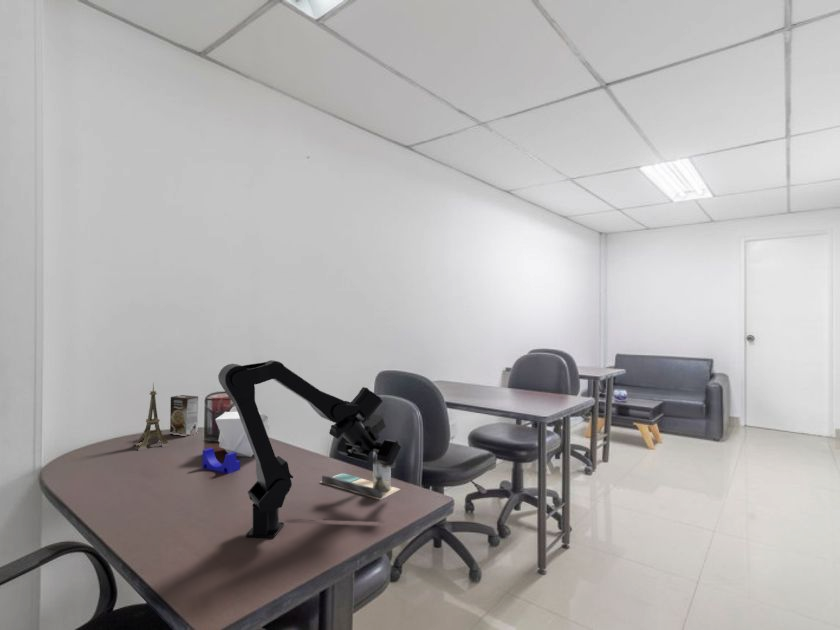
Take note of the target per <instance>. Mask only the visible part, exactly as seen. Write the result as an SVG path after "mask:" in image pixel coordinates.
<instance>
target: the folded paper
mask: <svg viewBox="0 0 840 630" xmlns="http://www.w3.org/2000/svg"><path fill="white" fill-rule="evenodd" d="M258 411H259V413H260V409H258ZM260 416H261V419H262V422H263V424H264V427H265V430H266V432H267V435H268V437H269V436H270V435H271V431H270V425H269V416H268V415H266V414H263V413H262V412H261V413H260ZM215 423H216V425H217V428H218V431H219V436H218V440H217V441H218V442H219V445H218V447H219V448H220V449H224V451H225V452H226V454H229V453H232V452H235V453H236V457H245V458H252V457H253V456H254V454H253V451H252V448H251V446H250V443H249V441H248V438H247V435H246V433H245V430H244V427H243V425H242V422H241V419H240V417H239V414H238V411H237V409H236V406H235V405H234V406H232V407H231V408H230V410H229V411H224V412H223V413H222V414H221V415H219V416H218V417H217V418H215Z"/></svg>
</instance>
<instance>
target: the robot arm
mask: <svg viewBox="0 0 840 630" xmlns="http://www.w3.org/2000/svg"><path fill="white" fill-rule="evenodd" d="M217 376H218V379H217V380H218V382H219V384H220V386H221V388H222V389H223V390H224V393H225V394H226V395H227V396H228V398H229V399H230V401H231V402H232V403H233V405H234V406H236V409H237V411H238V414H239V417H240V419H241V422H242V425H243V427H244V430H245V433H246V435H247V438H248V441H249V443H250V446H251V448H252V451H253V457H254V459H255V467H256V468H255V473H256V479H257V481H256V482H255V483H254V484H253V485H252V487H251V488H250V489H249V490H248V491H247V494H248V498H249V500H250V501H251V502H252V507H251V508H252V509H251V510H252V516H251V517H252V518H251V519H252V523H251V524H252V526H251V528H250V529H249V530H248V531H247V532H246V533H245V536H246V537H248V538H249V537H250V538H275V537H276V536H277V535H278V533H279V532H280V530H281V529H283V527H284V526H285V522H283V521H282V522H280V520H279V519H280V508H282V507H283V505H284V502H285V499H286V496H287V495H288V493H289V492H290V490H291V488H292V487H293V486H292V485H293V484H292V479H294V476H293V475H292V474H291V472H290V467H289V463H288V461H286V460H285V459H284V458H282V457H281V456H280V455H278V456H276V455H275V451H274V448H273V446H272V443H271V441H270V438H269V436H268V435H267V432H266V430H265V427H264V424H263V422H262V419H261V416H260V413H259V412H260V410H259V407H258V406H257V403H256V387H255V385H259V384H262V383H265V382H268V381H271V380H273V381H275V382H277V383H278V384H279V385H281V386H283V387H284V388H285V389H287V390H289V391H290V392H292V393H293V394H295V395H296V396H298V397H299V398H301V399H302V400H304V401H305V402H307V403H308V404H309V406H310V407H311V408H312V409H313V410H314V412H315V413H317V415H319V416H320V417H321V418H322V419H325V420H328V421H330V422H332V423H334V424H332V425H330V429H329V432H328V433H329V435H331V436H332V437H334V438H336V439H340V438H341V439H340V441H339V442H338V444H337V447H336V451H337V452H338V453H339V454H340V455H343V456H344V457H347V458H348V457H349V458H352V459H355V460H358V461H359V460H360V461H363V462H365V463H370V461H371V457H370V453H373V452H374V451H375V452H378V454H377V460H378V461H379V462H380V464H382V465H385V466H388V467H391V469H395V468H396V467H397V462H396V459H397V457H398V454H399V452H400V451H401V448H402V446H401V444H400V442H399V441H398V440H394V439H389V438H386V439H384V440H383V442H377V441H379V439H380V435H379V433H381V432H382V431H383V430H384V429H385V428H386V422H385V419H384V416H383V415H378V414H375V413H376V412H377V411H378V409H380V407H381V406H382V404H383V403H384V401H383V399H382V398H381V397H380V396H379V395H377V394H376V393H374V392H373V391H371V390H370V389H369V388H368V387H365V386H362V388H361V389H360V390H359V392H358V393H357V394H356V396H355V397H354V398H353V399H352V400H351V401H347V400H344V399H341V398H339V397H336V396H334V395H331V394H329V393H326V392H324V391H323V390H320V389H318V388H317V387H315V386H314V385H312V384H311V383H309V382H308V381H307V380H306V379H303V378H302V377H301V376H299V375H298V374H297V373H295V372H294V371H292V370H291V369H290V368H287V366H285V365H284V364H283V362H280V361H279V360H274V359H273V360H272V359H271V360H267V361H264V362H257V363H252V364H251V363H250V364H249V363H248V364H244V365H241V364H237V363H229V364H226V365H225V366H223V367H222V368H221V369H220V371H219V374H218V375H217ZM258 410H259V411H258ZM341 436H342V437H341Z"/></svg>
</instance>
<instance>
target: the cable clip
mask: <svg viewBox="0 0 840 630" xmlns="http://www.w3.org/2000/svg"><path fill="white" fill-rule="evenodd" d="M204 468H205V470H208V471H209V470H210V471H214V472H219V473H222V474H223V473H224V474H228V475H229V474H233V473H234V472H237V471H239V470H241V461H240V460H238V459H237V456H236V453H235V452H232V453H229V454H228V453H225V456H224V460H223V462H222V463H221V462H220V461H219V460H218V459H217V457H216V455H215V449H214V448H212V447H209V448H206V449H203V450H202V469H204Z"/></svg>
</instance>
